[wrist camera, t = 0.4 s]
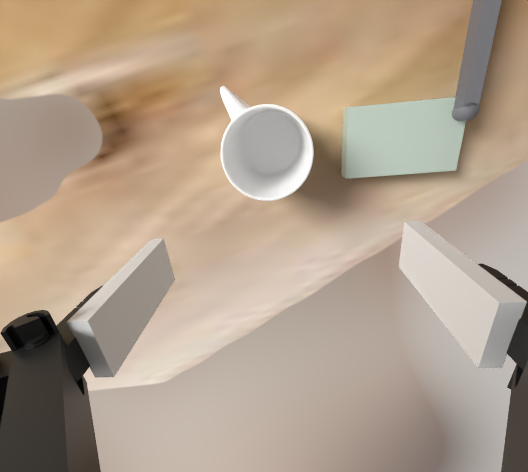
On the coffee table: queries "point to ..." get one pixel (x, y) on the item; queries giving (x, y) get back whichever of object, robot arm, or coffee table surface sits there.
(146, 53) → the coffee table surface
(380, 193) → the coffee table surface
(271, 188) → the mug
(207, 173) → the coffee table surface
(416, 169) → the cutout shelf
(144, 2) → the coffee table surface
